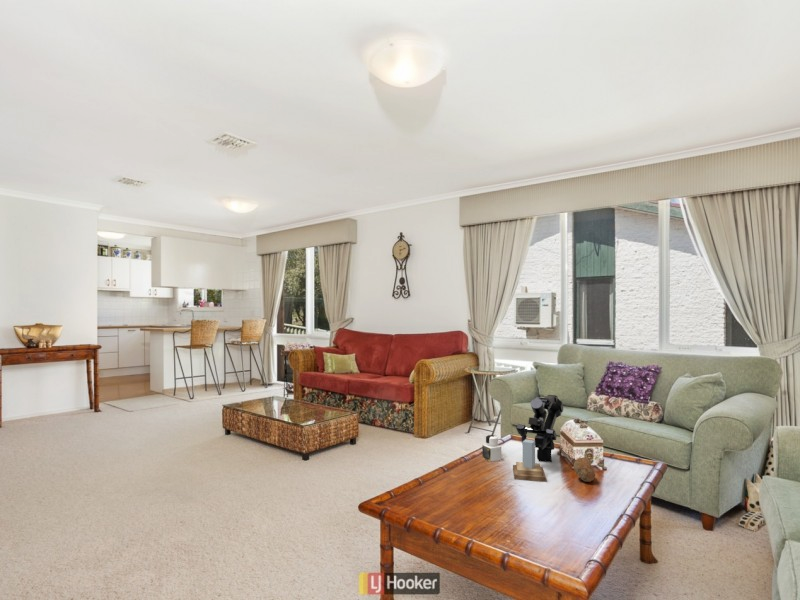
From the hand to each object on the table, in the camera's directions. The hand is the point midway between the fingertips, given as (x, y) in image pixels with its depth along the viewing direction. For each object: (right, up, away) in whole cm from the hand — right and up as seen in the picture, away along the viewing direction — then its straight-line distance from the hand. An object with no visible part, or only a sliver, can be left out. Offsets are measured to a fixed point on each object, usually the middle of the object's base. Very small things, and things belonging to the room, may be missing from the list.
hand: (532, 447), depth 221 cm
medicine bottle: (-16, -12, +18) cm, 27 cm away
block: (-3, -8, -5) cm, 9 cm away
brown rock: (+21, -12, -11) cm, 26 cm away
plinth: (-3, -12, -5) cm, 13 cm away
